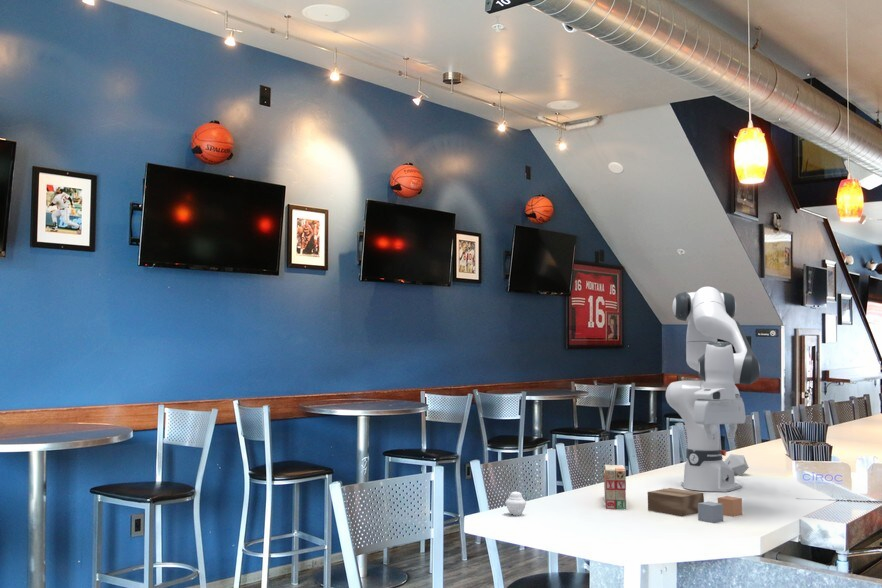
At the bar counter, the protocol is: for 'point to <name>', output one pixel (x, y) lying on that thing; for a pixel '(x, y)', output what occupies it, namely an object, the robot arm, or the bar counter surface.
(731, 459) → the die
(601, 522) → the bar counter surface
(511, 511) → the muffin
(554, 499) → the bar counter surface
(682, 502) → the walnut block
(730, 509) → the rust cube
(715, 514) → the grey cube
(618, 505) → the stack of blocks
